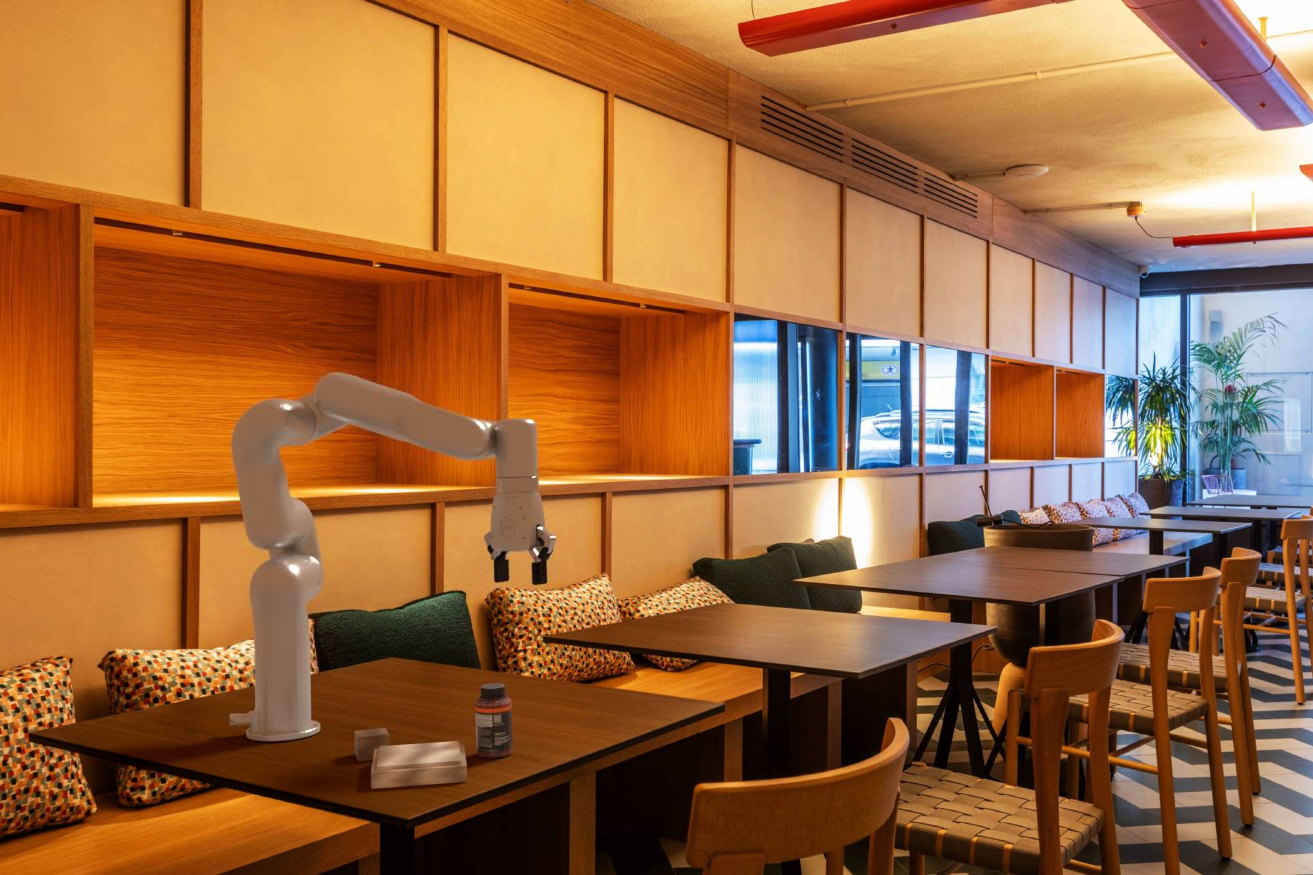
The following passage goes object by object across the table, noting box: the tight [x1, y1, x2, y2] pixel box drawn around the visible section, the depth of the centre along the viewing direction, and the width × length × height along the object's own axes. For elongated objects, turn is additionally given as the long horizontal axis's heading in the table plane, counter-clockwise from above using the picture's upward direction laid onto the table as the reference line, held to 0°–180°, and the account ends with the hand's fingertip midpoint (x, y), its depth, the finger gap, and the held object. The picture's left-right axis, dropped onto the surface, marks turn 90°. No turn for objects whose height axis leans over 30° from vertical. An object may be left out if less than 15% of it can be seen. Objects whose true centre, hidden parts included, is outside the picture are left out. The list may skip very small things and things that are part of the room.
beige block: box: [354, 727, 390, 762], centre depth 188 cm, size 5×5×4 cm
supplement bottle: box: [474, 682, 514, 759], centre depth 187 cm, size 6×6×11 cm
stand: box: [370, 740, 468, 790], centre depth 177 cm, size 14×14×3 cm
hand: (520, 583), depth 204 cm, fingers open, 9 cm apart
